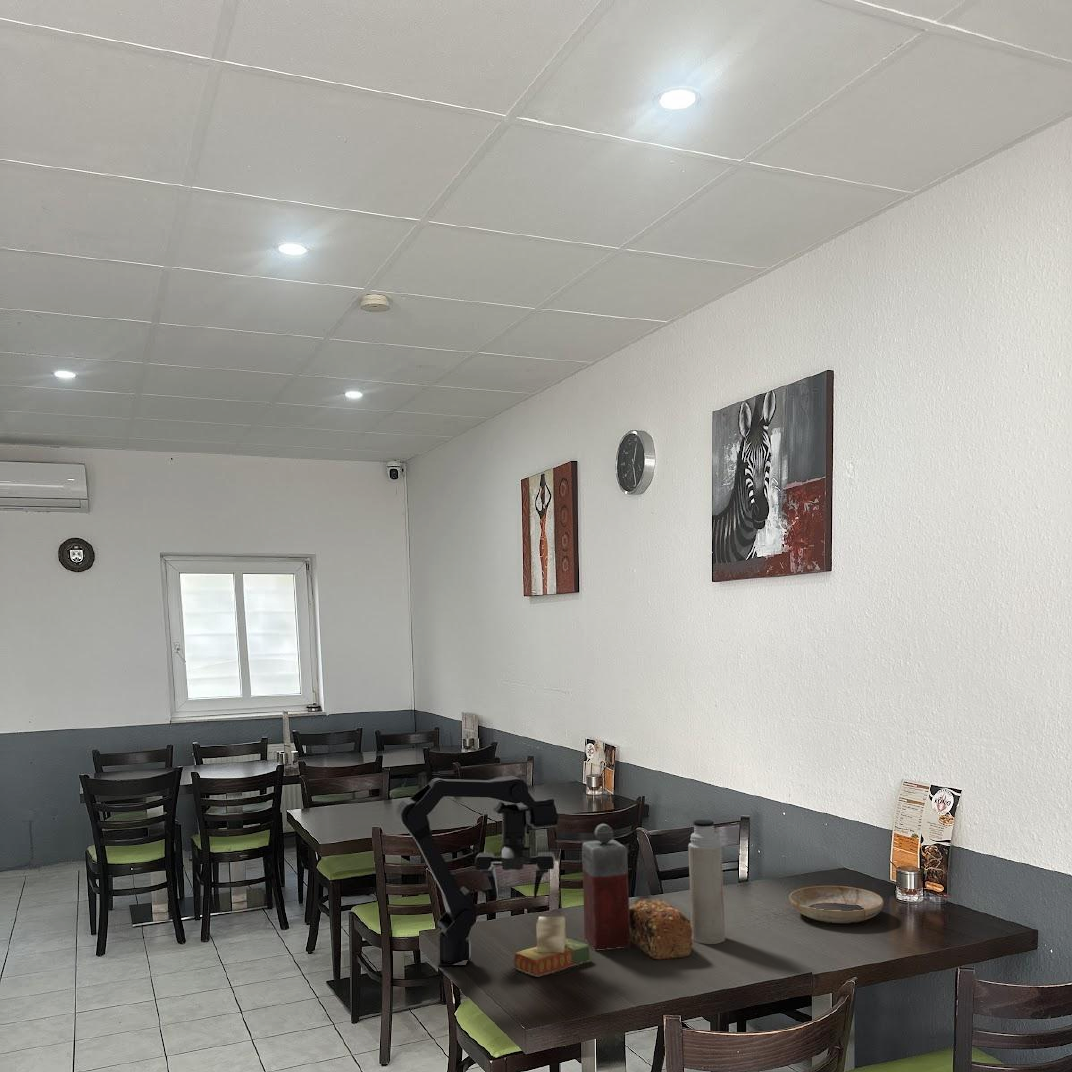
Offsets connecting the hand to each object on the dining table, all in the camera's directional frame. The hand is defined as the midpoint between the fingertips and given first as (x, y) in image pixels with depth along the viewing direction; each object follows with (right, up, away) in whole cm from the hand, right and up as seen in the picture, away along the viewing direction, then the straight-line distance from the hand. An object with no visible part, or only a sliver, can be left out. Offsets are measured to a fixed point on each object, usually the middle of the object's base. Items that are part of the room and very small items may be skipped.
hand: (515, 898), depth 224 cm
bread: (+34, -12, +1) cm, 36 cm away
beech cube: (+8, -8, -10) cm, 15 cm away
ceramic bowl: (+83, -13, +21) cm, 87 cm away
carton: (+9, -12, -10) cm, 18 cm away
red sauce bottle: (+22, -13, +5) cm, 26 cm away
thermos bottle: (+47, -12, +6) cm, 49 cm away
